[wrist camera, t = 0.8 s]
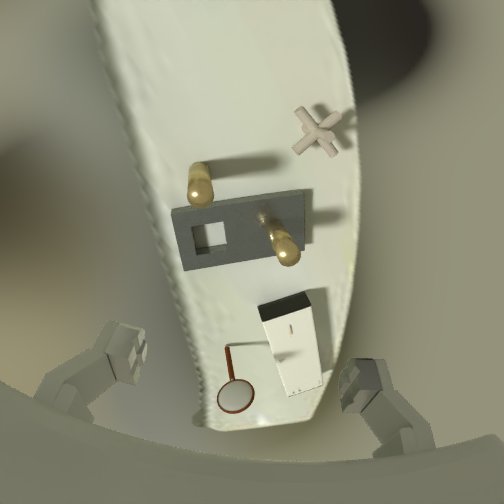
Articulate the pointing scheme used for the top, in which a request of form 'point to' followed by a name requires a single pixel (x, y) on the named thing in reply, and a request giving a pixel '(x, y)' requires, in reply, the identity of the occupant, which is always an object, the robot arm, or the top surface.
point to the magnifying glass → (234, 391)
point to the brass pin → (199, 186)
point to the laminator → (293, 342)
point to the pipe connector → (317, 132)
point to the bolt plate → (244, 230)
